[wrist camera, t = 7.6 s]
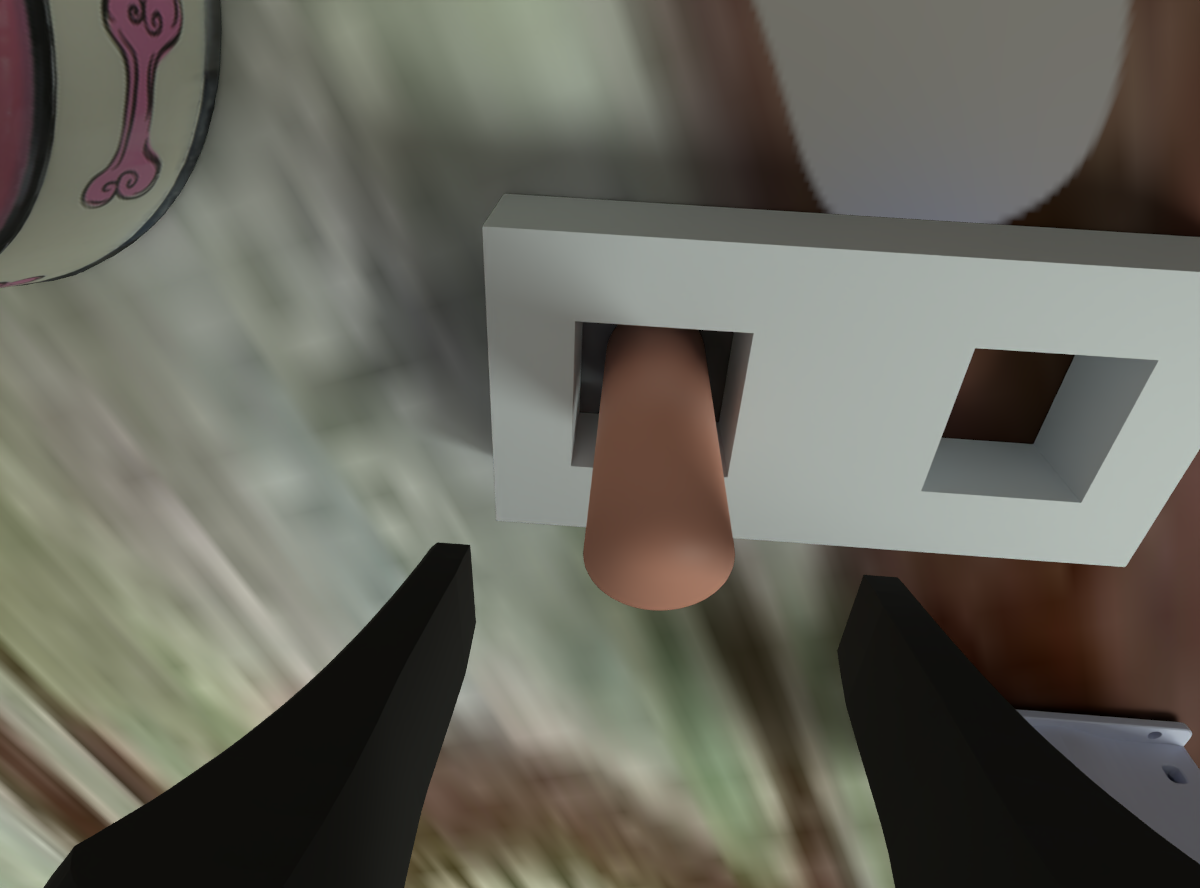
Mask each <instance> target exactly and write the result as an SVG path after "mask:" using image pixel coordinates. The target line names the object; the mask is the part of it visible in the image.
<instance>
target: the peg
mask: <svg viewBox="0 0 1200 888" xmlns="http://www.w3.org/2000/svg"><path fill="white" fill-rule="evenodd" d="M583 556H584V563H585V567H586V570H587V572H588V574H589V576H590V577H591V579H592V581H593V582H594V583H595V584H596V585H597V587H598V588H600V589H601V590H602V591H603V592H604V593H605V594H607V595H608V596H610V597H611V598H613V599H615V600H617V601H619V602H621V603H623V604H626V605H629V606H632V607H635V608H640V609H646V610H673V609H679V608H684V607H687V606H691V605H693V604H696V603H698V602H700V601H702V600H704V599H706V598H708V597H709V596H711V595H712V594H714V593H715V592H716V591H717V590H718V589H719V588H720V587H721V586H722V585H723V584H724V583H725V582H726V580H727V579H728V577H729V575H730V573H731V571H732V568H733V565H734V559H735V550H734V542H733V536H732V529H731V522H730V515H729V509H728V502H727V495H726V488H725V482H724V475H723V468H722V461H721V455H720V448H719V441H718V435H717V428H716V421H715V414H714V408H713V401H712V394H711V387H710V381H709V374H708V367H707V360H706V354H705V347H704V342H703V339H702V337H701V334H700V333H699V331H698V329H683V328H668V327H653V326H638V325H623V324H618V325H617V327H616V328H615V329H614V331H613V332H612V334H611V336H610V338H609V341H608V344H607V350H606V359H605V367H604V376H603V385H602V393H601V402H600V411H599V420H598V428H597V437H596V446H595V455H594V463H593V472H592V481H591V489H590V498H589V507H588V516H587V524H586V533H585V542H584V551H583Z"/></svg>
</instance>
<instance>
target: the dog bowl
mask: <svg viewBox="0 0 1200 888" xmlns="http://www.w3.org/2000/svg"><path fill="white" fill-rule="evenodd" d="M220 51H221V7H220V0H0V288H3V287H9V286H18V285H27V284H32V283H38V282H47V281H54V280H58V279H61V278H65V277H69V276H73V275H76V274H78V273H80V272H84V271H85V270H87V269H89V268H91V267H93V266H95V265H97V264H99V263H101V262H103V261H105V260H106V259H108V258H110V257H112V256H114V255H115V254H117V253H118V252H120V251H122V250H123V249H125V248H126V247H128V246H129V245H131V244H132V243H134V242H135V241H136V240H137V239H138V238H139V237H140V236H141V235H143V234H144V233H145V232H147V231H148V230H149V229H150V228H151V227H152V226H153V225H154V224H155V223H156V222H157V221H158V220H159V219H160V218H161V217H162V216H163V215H164V214H165V212H166V211H167V209H168V208H169V207H170V205H171V204H172V203H173V202H174V201H175V199H176V197H177V196H178V195H179V194H180V192H181V190H182V189H183V187H184V186H185V184H186V182H187V180H188V178H189V176H190V174H191V173H192V171H193V169H194V166H195V164H196V162H197V160H198V157H199V155H200V153H201V150H202V147H203V145H204V142H205V139H206V136H207V133H208V129H209V125H210V121H211V117H212V113H213V109H214V104H215V97H216V93H217V88H218V80H219V71H220Z"/></svg>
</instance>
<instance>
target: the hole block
mask: <svg viewBox="0 0 1200 888" xmlns="http://www.w3.org/2000/svg"><path fill="white" fill-rule="evenodd" d="M482 232H483V253H484V274H485V295H486V316H487V337H488V359H489V380H490V401H491V422H492V443H493V464H494V486H495V507H496V521H508V522H521V523H535V524H549V525H562V526H576V527H586V524H587V516H588V507H589V498H590V489H591V481H592V472H593V463H594V455H595V446H596V437H597V428H598V420H599V414H595V413H580V387H581V358H582V329H583V322H593V323H608V324H623V325H638V326H653V327H668V328H683V329H698V330H712V331H727V332H734V334H733V340H732V346H731V352H730V358H729V364H728V370H727V376H726V383H725V389H724V395H723V401H722V407H721V413H720V419H719V422H716V428H717V435H718V441H719V448H720V455H721V461H722V468H723V475H724V482H725V488H726V495H727V502H728V509H729V515H730V522H731V529H732V536H733V538H739V539H752V540H766V541H779V542H793V543H806V544H820V545H834V546H847V547H861V548H874V549H888V550H901V551H915V552H929V553H942V554H956V555H969V556H983V557H996V558H1010V559H1024V560H1037V561H1051V562H1064V563H1078V564H1091V565H1105V566H1119V567H1126V565H1127V564H1128V562H1129V561H1130V559H1131V557H1132V556H1133V554H1134V553H1135V551H1136V549H1137V548H1138V546H1139V545H1140V543H1141V541H1142V540H1143V538H1144V537H1145V535H1146V534H1147V532H1148V530H1149V529H1150V527H1151V526H1152V524H1153V522H1154V521H1155V519H1156V518H1157V516H1158V514H1159V513H1160V511H1161V510H1162V508H1163V506H1164V505H1165V503H1166V502H1167V500H1168V498H1169V497H1170V495H1171V494H1172V492H1173V491H1174V489H1175V487H1176V486H1177V484H1178V483H1179V481H1180V479H1181V478H1182V476H1183V475H1184V473H1185V471H1186V470H1187V468H1188V467H1189V465H1190V463H1191V462H1192V460H1193V459H1194V457H1195V455H1196V454H1197V452H1198V451H1199V449H1200V237H1190V236H1174V235H1158V234H1142V233H1127V232H1111V231H1095V230H1079V229H1063V228H1047V227H1031V226H1015V225H999V224H983V223H966V222H950V221H934V220H919V219H903V218H887V217H886V218H885V217H870V216H854V215H839V214H823V213H807V212H791V211H775V210H759V209H743V208H727V207H711V206H695V205H679V204H663V203H647V202H631V201H615V200H599V199H583V198H567V197H551V196H535V195H519V194H504V195H503V196H502V198H501V199H500V201H499V202H498V204H497V205H496V207H495V208H494V210H493V211H492V213H491V214H490V216H489V217H488V219H487V220H486V221H485V223H484V224H483V226H482ZM975 348H982V349H997V350H1012V351H1027V352H1042V353H1057V354H1072V355H1075V356H1074V358H1073V360H1072V363H1071V365H1070V367H1069V369H1068V371H1067V373H1066V375H1065V378H1064V380H1063V382H1062V384H1061V386H1060V388H1059V390H1058V393H1057V395H1056V397H1055V399H1054V401H1053V403H1052V405H1051V408H1050V410H1049V412H1048V414H1047V416H1046V418H1045V420H1044V423H1043V425H1042V427H1041V429H1040V431H1039V433H1038V435H1037V437H1036V440H1035V442H1034V444H1024V443H1010V442H996V441H981V440H967V439H953V438H941V437H942V435H943V432H944V429H945V427H946V424H947V421H948V419H949V416H950V413H951V411H952V408H953V405H954V403H955V400H956V397H957V395H958V392H959V390H960V387H961V384H962V382H963V379H964V376H965V374H966V371H967V368H968V366H969V363H970V360H971V358H972V355H973V352H974V350H975Z"/></svg>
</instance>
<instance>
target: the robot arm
mask: <svg viewBox="0 0 1200 888" xmlns="http://www.w3.org/2000/svg"><path fill="white" fill-rule="evenodd" d="M475 624H476V618H475V604H474V591H473V578H472V564H471V551H470V545H463V544H450V543H436V544H435V545H434V546H432V547H431V549H430V550H429V551H428V553H427V554H426V555H425V556H424V558H423V559H422V560H421V562H420V563H419V564H418V565H417V567H416V568H415V569H414V570H413V572H412V573H411V574H410V575H409V577H408V578H407V579H406V580H405V582H404V583H403V584H402V585H401V586H400V588H399V589H398V590H397V591H396V592H395V594H394V595H393V596H392V597H391V598H390V599H389V600H388V602H387V603H386V604H385V605H384V606H383V607H382V608H381V609H380V611H379V612H378V613H377V614H376V615H375V616H374V617H373V618H372V620H371V621H370V622H369V623H368V624H367V625H366V626H365V627H364V628H363V629H362V631H361V632H360V633H359V634H358V635H357V636H356V637H355V638H354V639H353V640H352V641H351V642H350V643H349V644H348V645H347V646H346V647H345V648H344V649H343V650H342V651H341V652H340V653H339V654H338V655H337V656H336V657H335V658H334V659H333V660H332V661H331V662H330V663H329V664H328V665H327V666H326V667H325V668H324V669H323V670H322V671H321V672H320V673H318V674H317V675H316V676H315V677H314V678H313V679H312V680H311V681H310V682H309V683H308V684H306V685H305V686H304V687H303V688H302V689H301V690H300V691H299V692H297V693H296V694H295V695H294V696H293V697H292V698H291V699H289V700H288V701H287V702H286V703H285V704H284V705H282V706H281V707H280V708H279V709H278V710H276V711H275V712H274V713H273V714H271V715H270V716H269V717H268V718H266V719H265V720H264V721H263V722H261V723H260V724H259V725H258V726H256V727H255V728H254V729H253V730H251V731H250V732H249V733H248V734H246V735H245V736H244V737H242V738H241V739H240V740H238V741H237V742H236V743H234V744H233V745H232V746H230V747H229V748H228V749H226V750H225V751H224V752H222V753H221V754H219V755H218V756H217V757H215V758H214V759H212V760H211V761H209V762H208V763H206V764H205V765H204V766H202V767H201V768H199V769H198V770H196V771H195V772H193V773H192V774H190V775H189V776H188V777H186V778H185V779H183V780H182V781H180V782H179V783H177V784H176V785H175V786H173V787H172V788H170V789H169V790H167V791H166V792H164V793H162V794H161V795H159V796H158V797H156V798H155V799H153V800H152V801H150V802H148V803H147V804H145V805H143V806H142V807H140V808H138V809H137V810H135V811H133V812H132V813H130V814H128V815H127V816H125V817H123V818H122V819H120V820H118V821H117V822H115V823H113V824H112V825H110V826H108V827H107V828H105V829H103V830H102V831H100V832H98V833H97V834H95V835H93V836H92V837H90V838H88V839H86V840H84V841H83V842H81V843H79V844H77V845H75V846H74V848H73V849H72V850H71V852H70V853H69V854H68V856H67V857H66V858H65V860H64V861H63V862H62V863H61V865H60V866H59V867H58V868H57V870H56V871H55V872H54V873H53V875H52V876H51V878H50V879H49V880H48V882H47V883H46V885H45V886H44V888H404V885H405V881H406V876H407V872H408V867H409V863H410V858H411V854H412V850H413V845H414V841H415V836H416V832H417V828H418V823H419V819H420V815H421V811H422V807H423V804H424V800H425V797H426V793H427V790H428V786H429V783H430V780H431V777H432V774H433V771H434V768H435V765H436V762H437V759H438V756H439V753H440V750H441V747H442V744H443V741H444V738H445V735H446V732H447V729H448V726H449V723H450V720H451V717H452V714H453V711H454V707H455V704H456V701H457V698H458V695H459V692H460V689H461V686H462V683H463V680H464V676H465V673H466V668H467V664H468V659H469V654H470V649H471V644H472V639H473V634H474V629H475ZM837 652H838V659H839V665H840V672H841V679H842V685H843V691H844V696H845V702H846V706H847V710H848V714H849V717H850V721H851V724H852V728H853V731H854V735H855V738H856V741H857V745H858V748H859V752H860V755H861V758H862V762H863V765H864V768H865V772H866V775H867V778H868V782H869V785H870V789H871V792H872V795H873V799H874V802H875V805H876V809H877V812H878V815H879V819H880V822H881V826H882V829H883V833H884V837H885V841H886V845H887V849H888V853H889V858H890V863H891V868H892V873H893V878H894V884H895V888H1200V770H1199V768H1198V767H1197V765H1196V764H1195V763H1194V761H1193V760H1192V758H1191V757H1190V755H1189V754H1188V752H1187V751H1186V749H1185V748H1184V747H1183V746H1184V745H1185V744H1186V743H1187V741H1188V740H1189V739H1190V738H1191V736H1192V732H1191V730H1190V729H1189V728H1188V726H1187V725H1186V724H1184V723H1180V722H1171V721H1158V720H1145V719H1133V718H1120V717H1107V716H1094V715H1082V714H1069V713H1056V712H1044V711H1031V710H1018V709H1015V708H1014V707H1013V706H1012V705H1011V704H1010V703H1009V702H1008V701H1007V700H1006V699H1005V698H1004V697H1003V696H1002V695H1001V694H1000V693H999V692H998V691H997V690H996V689H995V688H994V687H993V686H992V685H991V684H990V683H989V682H988V681H987V679H986V678H985V677H984V676H983V675H982V674H981V673H980V672H979V671H978V670H977V669H976V668H975V666H974V665H973V664H972V663H971V662H970V661H969V660H968V659H967V658H966V656H965V655H964V654H963V653H962V652H961V651H960V650H959V649H958V647H957V646H956V645H955V644H954V643H953V642H952V641H951V639H950V638H949V637H948V636H947V635H946V634H945V632H944V631H943V630H942V629H941V628H940V627H939V625H938V624H937V623H936V622H935V621H934V620H933V618H932V617H931V616H930V615H929V614H928V613H927V611H926V610H925V609H924V608H923V607H922V605H921V604H920V603H919V602H918V601H917V600H916V598H915V597H914V596H913V595H912V594H911V592H910V591H909V590H908V589H907V588H906V587H905V585H904V584H903V583H902V582H901V581H900V580H899V579H898V578H897V577H884V576H871V575H863V578H862V581H861V584H860V587H859V590H858V593H857V596H856V598H855V601H854V604H853V607H852V610H851V613H850V616H849V619H848V621H847V624H846V627H845V630H844V633H843V636H842V639H841V642H840V644H839V647H838V650H837Z"/></svg>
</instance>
